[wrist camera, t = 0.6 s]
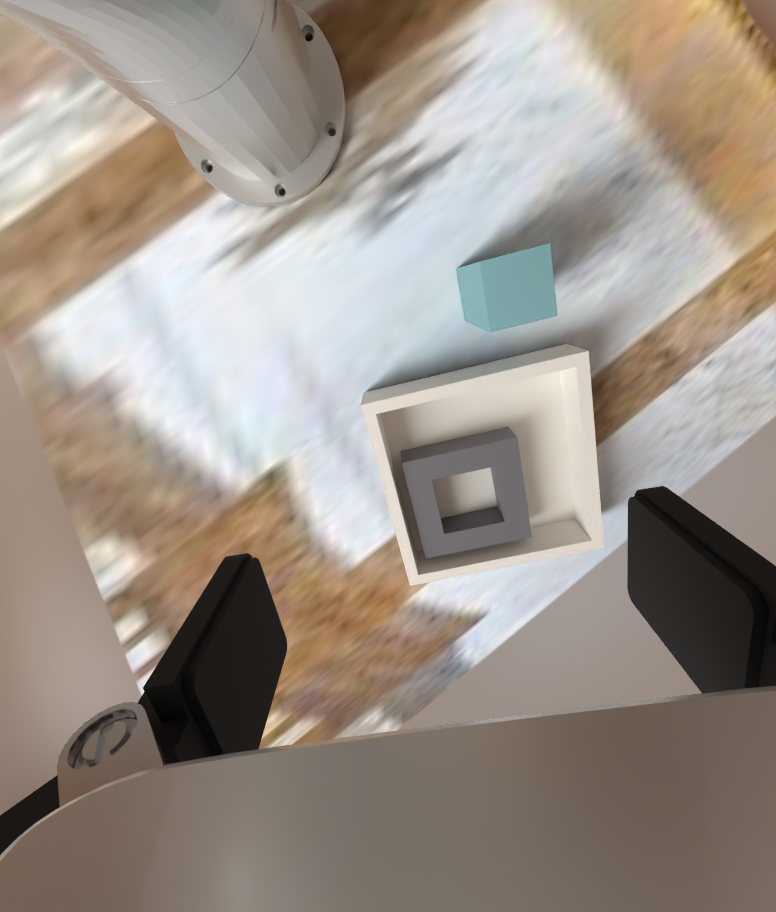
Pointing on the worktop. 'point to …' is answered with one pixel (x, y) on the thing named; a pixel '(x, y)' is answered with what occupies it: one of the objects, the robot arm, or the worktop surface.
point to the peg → (509, 289)
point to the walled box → (489, 463)
